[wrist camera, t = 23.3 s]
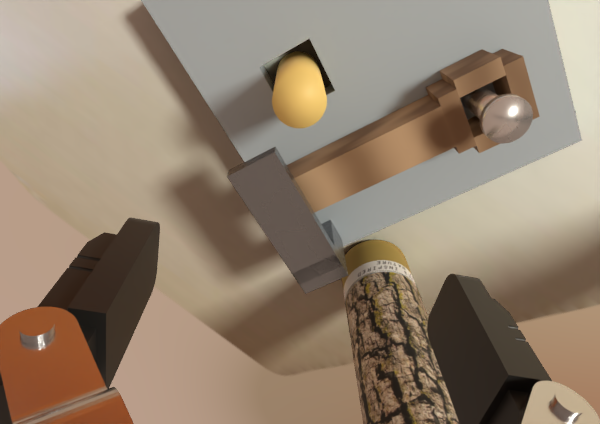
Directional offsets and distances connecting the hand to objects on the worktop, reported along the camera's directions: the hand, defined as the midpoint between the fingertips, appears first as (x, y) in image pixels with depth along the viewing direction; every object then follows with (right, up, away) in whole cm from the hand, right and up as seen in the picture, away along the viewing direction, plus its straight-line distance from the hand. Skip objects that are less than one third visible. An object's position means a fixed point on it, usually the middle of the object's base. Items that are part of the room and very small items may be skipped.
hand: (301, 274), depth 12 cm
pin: (0, +13, +25) cm, 28 cm away
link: (+7, +8, +25) cm, 27 cm away
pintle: (+14, +12, +25) cm, 31 cm away
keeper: (-1, +4, +30) cm, 30 cm away
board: (+6, +14, +25) cm, 29 cm away
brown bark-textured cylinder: (+8, -4, +34) cm, 35 cm away
